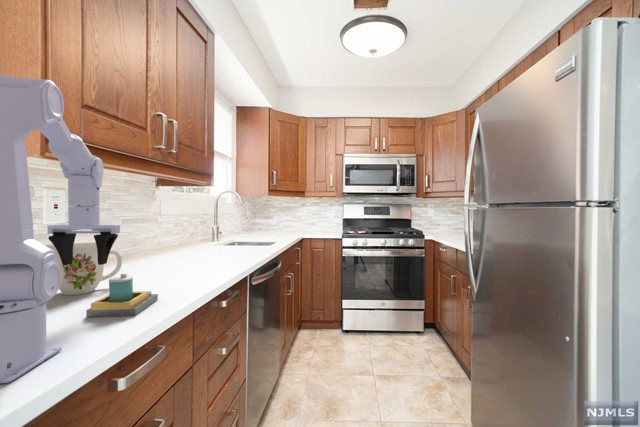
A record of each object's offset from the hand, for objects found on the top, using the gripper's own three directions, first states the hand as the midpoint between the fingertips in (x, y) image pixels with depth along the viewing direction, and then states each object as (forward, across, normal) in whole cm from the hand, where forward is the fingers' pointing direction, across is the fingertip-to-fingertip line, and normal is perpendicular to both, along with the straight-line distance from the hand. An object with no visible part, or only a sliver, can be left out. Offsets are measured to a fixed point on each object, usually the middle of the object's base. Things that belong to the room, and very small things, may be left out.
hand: (85, 264), depth 68 cm
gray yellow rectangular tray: (+10, -9, 0) cm, 14 cm away
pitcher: (+11, +10, -15) cm, 21 cm away
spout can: (+9, -9, +2) cm, 13 cm away
